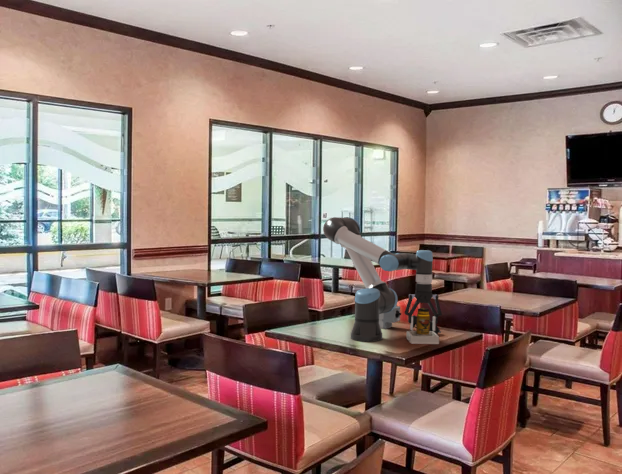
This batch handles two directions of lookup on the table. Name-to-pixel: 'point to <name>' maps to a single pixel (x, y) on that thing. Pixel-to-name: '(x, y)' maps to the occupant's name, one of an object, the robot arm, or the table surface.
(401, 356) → the table surface
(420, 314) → the condiment
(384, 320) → the circuit breaker
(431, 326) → the gun
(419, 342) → the tray
